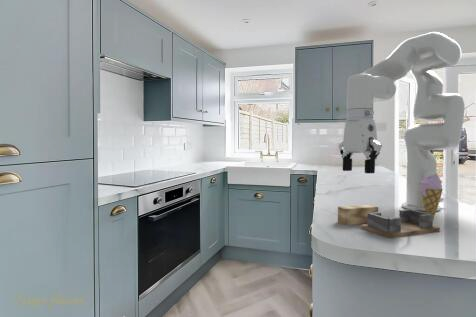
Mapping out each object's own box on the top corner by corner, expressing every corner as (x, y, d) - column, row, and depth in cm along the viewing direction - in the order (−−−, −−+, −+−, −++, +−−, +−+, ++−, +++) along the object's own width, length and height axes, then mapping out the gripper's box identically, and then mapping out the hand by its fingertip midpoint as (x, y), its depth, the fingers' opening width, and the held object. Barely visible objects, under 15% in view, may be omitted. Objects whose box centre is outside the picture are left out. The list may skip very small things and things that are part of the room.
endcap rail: (408, 222, 94) (408, 208, 94) (439, 231, 85) (440, 215, 85) (361, 228, 88) (361, 212, 88) (389, 237, 79) (389, 220, 79)
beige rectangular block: (370, 220, 99) (370, 204, 98) (378, 222, 95) (378, 206, 95) (337, 222, 95) (337, 206, 95) (344, 225, 92) (344, 209, 92)
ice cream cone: (433, 222, 94) (434, 174, 94) (413, 218, 100) (414, 172, 99) (445, 220, 97) (447, 173, 97) (426, 216, 103) (427, 171, 102)
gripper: (391, 113, 87) (389, 174, 88) (350, 119, 103) (348, 169, 104) (370, 112, 84) (368, 174, 85) (331, 118, 101) (330, 170, 101)
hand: (357, 171), depth 94 cm, fingers open, 9 cm apart
